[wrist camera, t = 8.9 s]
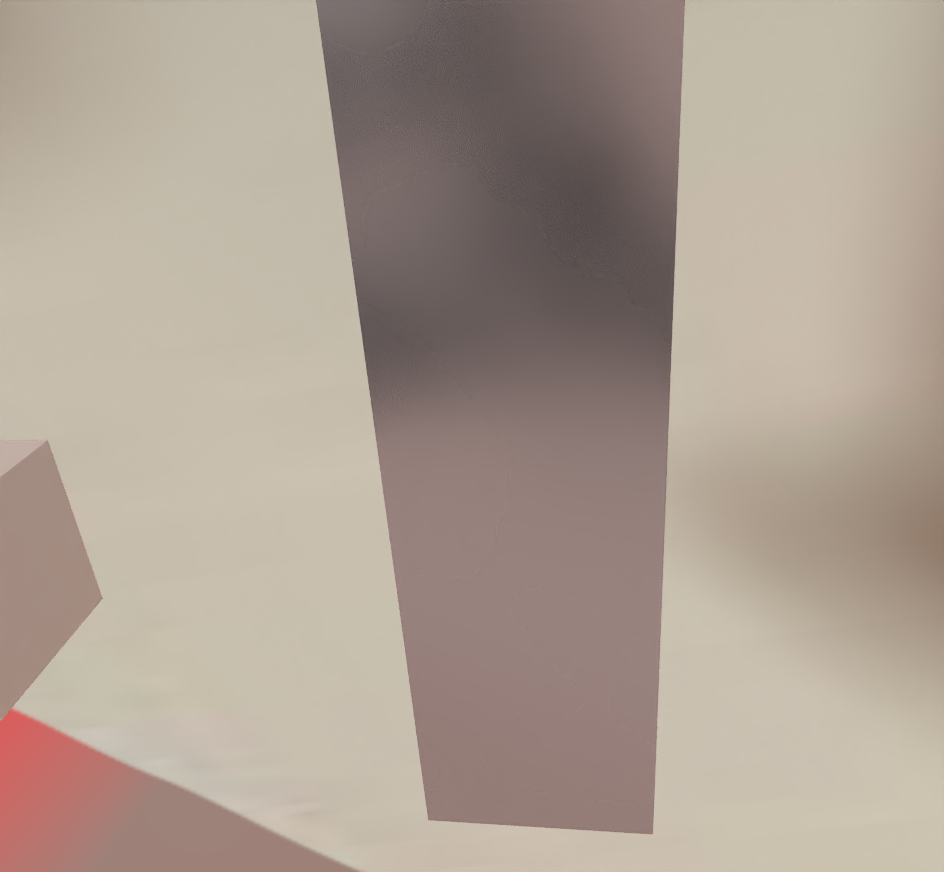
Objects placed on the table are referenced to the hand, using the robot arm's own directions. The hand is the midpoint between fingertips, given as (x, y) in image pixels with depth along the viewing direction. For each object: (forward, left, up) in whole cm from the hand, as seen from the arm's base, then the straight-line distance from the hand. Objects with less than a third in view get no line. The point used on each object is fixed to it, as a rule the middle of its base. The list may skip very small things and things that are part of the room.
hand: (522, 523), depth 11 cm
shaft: (-9, 0, -1) cm, 9 cm away
